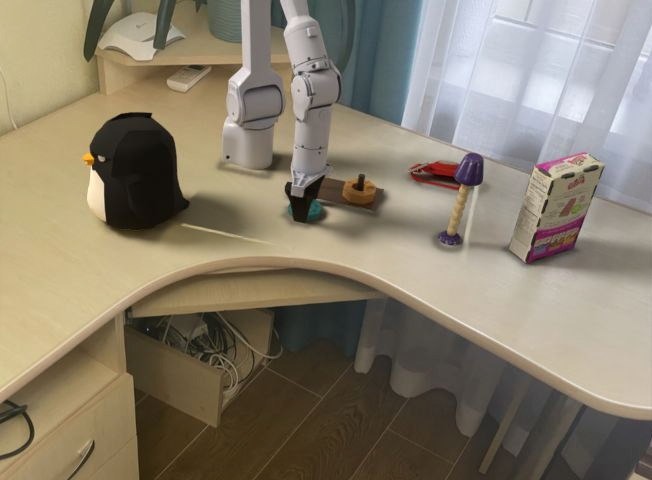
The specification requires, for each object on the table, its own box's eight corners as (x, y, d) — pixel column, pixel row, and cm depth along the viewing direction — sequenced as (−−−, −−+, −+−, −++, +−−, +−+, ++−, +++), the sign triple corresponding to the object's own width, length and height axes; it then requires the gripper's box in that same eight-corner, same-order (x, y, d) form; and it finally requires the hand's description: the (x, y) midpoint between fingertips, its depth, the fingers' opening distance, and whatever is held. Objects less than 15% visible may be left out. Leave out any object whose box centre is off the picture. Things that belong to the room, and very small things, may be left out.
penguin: (81, 193, 135) (68, 102, 123) (177, 180, 140) (173, 91, 128) (99, 250, 123) (87, 155, 111) (204, 233, 127) (203, 140, 116)
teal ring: (284, 220, 132) (285, 211, 130) (293, 203, 136) (293, 195, 134) (315, 226, 130) (316, 218, 129) (323, 210, 135) (324, 201, 133)
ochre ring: (340, 200, 136) (341, 191, 135) (347, 184, 140) (348, 176, 139) (370, 206, 135) (372, 197, 134) (376, 190, 139) (378, 182, 138)
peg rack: (290, 197, 137) (292, 172, 134) (301, 176, 143) (303, 152, 140) (375, 214, 134) (379, 190, 131) (383, 192, 140) (387, 169, 137)
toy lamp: (465, 239, 130) (490, 152, 119) (462, 253, 127) (487, 166, 115) (438, 233, 131) (460, 146, 120) (434, 247, 128) (456, 159, 116)
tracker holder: (443, 156, 149) (485, 166, 142) (439, 178, 151) (480, 189, 144) (403, 159, 142) (445, 169, 135) (400, 182, 143) (441, 194, 137)
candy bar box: (553, 234, 133) (585, 150, 121) (573, 249, 129) (608, 164, 118) (505, 249, 129) (533, 163, 117) (524, 265, 125) (555, 178, 114)
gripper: (324, 166, 117) (315, 238, 127) (344, 126, 128) (335, 195, 137) (281, 158, 119) (276, 229, 128) (304, 119, 129) (298, 188, 138)
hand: (304, 211), depth 133 cm, fingers closed on teal ring, 6 cm apart
